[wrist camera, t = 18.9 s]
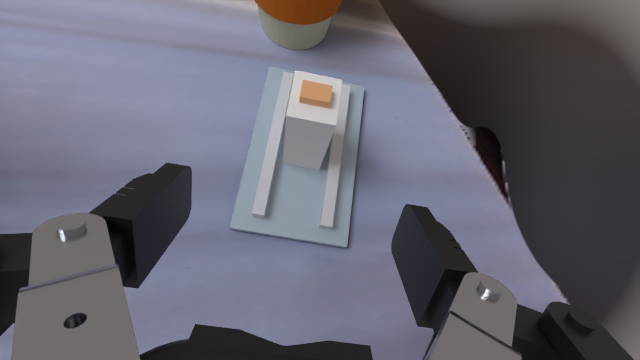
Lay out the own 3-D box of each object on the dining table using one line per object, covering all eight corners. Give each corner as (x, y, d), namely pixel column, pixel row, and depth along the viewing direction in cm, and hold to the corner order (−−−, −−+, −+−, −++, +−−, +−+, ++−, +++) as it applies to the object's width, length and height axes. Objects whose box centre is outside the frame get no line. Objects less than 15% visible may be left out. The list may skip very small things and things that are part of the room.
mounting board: (344, 248, 31) (350, 245, 29) (230, 229, 30) (227, 225, 28) (362, 91, 38) (367, 78, 36) (269, 71, 37) (269, 57, 35)
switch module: (319, 170, 33) (338, 120, 23) (283, 163, 32) (286, 110, 22) (324, 135, 34) (344, 73, 24) (289, 128, 34) (295, 63, 24)
